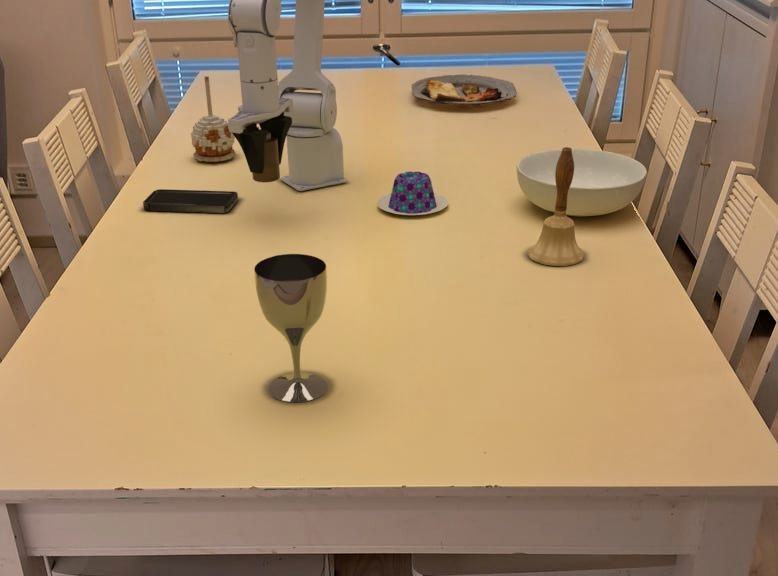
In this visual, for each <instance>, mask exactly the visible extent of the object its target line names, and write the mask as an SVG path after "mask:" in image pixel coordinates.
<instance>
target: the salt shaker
mask: <svg viewBox="0 0 778 576" xmlns="http://www.w3.org/2000/svg"><path fill="white" fill-rule="evenodd" d="M251 174H252V180H253V181H254V182H257V183H272V182H277V181H278V180H281V170H280V165H279V154H278V139H277V137H275V136H271V133H269V132H268V133H267V136H266V140H265V145H264V169H263V173H261V174H259V173H253V172H251Z"/></svg>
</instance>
